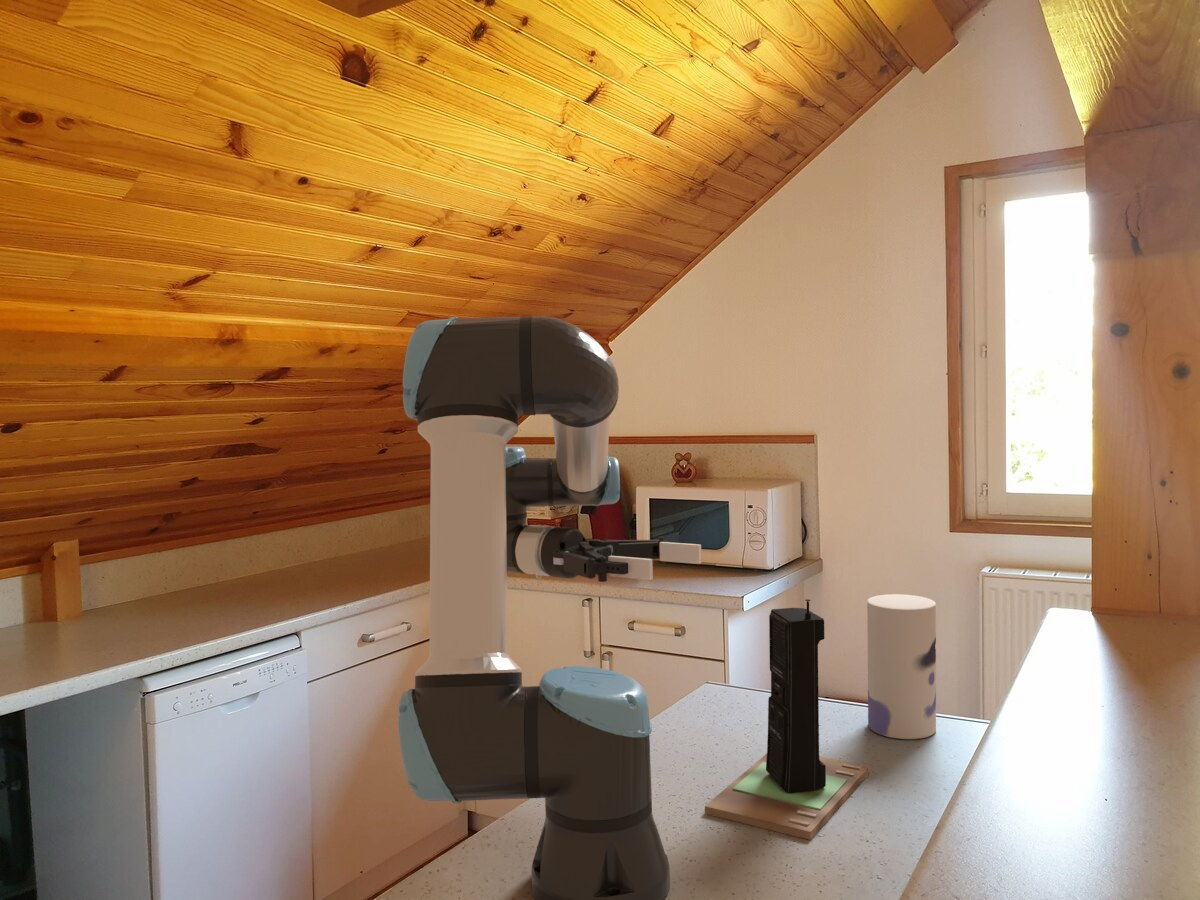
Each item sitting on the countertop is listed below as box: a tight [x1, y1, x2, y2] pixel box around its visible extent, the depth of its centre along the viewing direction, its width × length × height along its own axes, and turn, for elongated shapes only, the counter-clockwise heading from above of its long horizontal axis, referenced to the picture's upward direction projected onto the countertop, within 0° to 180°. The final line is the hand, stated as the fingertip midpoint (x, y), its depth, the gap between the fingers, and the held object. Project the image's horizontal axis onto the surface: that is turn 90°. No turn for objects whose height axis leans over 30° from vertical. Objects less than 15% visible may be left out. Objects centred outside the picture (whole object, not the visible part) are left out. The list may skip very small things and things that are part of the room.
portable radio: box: [766, 598, 826, 793], centre depth 128 cm, size 8×6×25 cm
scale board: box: [704, 753, 870, 841], centre depth 128 cm, size 22×14×1 cm, turn 147°
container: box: [866, 593, 937, 740], centre depth 149 cm, size 10×10×20 cm
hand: (676, 561), depth 134 cm, fingers open, 13 cm apart
